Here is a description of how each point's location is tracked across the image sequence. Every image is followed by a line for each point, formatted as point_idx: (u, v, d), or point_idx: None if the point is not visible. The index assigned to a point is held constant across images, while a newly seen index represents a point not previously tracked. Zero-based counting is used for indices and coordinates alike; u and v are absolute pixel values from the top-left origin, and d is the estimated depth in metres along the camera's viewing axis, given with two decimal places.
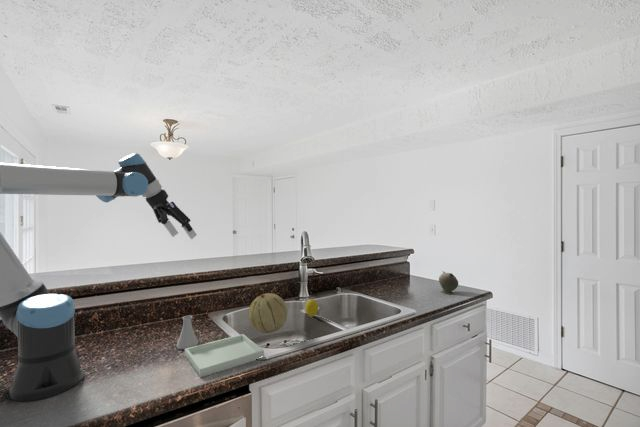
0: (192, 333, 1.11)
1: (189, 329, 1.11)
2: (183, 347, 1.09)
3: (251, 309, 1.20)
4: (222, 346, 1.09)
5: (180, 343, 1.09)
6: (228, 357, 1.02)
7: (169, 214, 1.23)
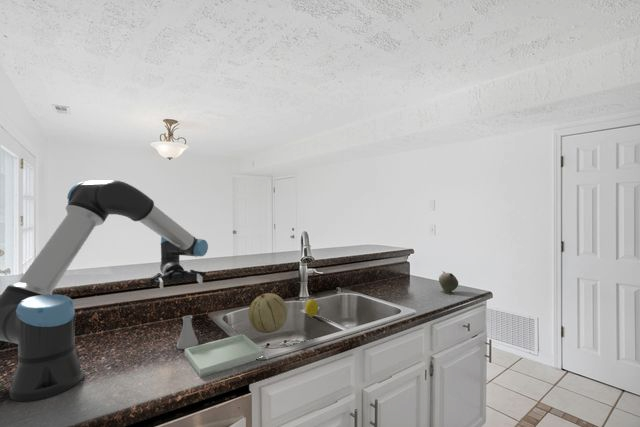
0: (192, 333, 1.11)
1: (189, 329, 1.11)
2: (183, 347, 1.09)
3: (251, 309, 1.20)
4: (222, 346, 1.09)
5: (180, 343, 1.09)
6: (228, 357, 1.02)
7: (187, 271, 1.32)
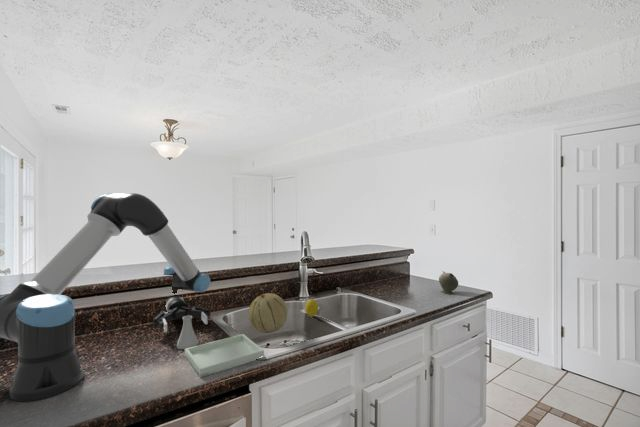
0: (192, 333, 1.11)
1: (189, 329, 1.11)
2: (183, 347, 1.09)
3: (251, 309, 1.20)
4: (222, 346, 1.09)
5: (180, 343, 1.09)
6: (228, 357, 1.02)
7: (191, 308, 1.28)
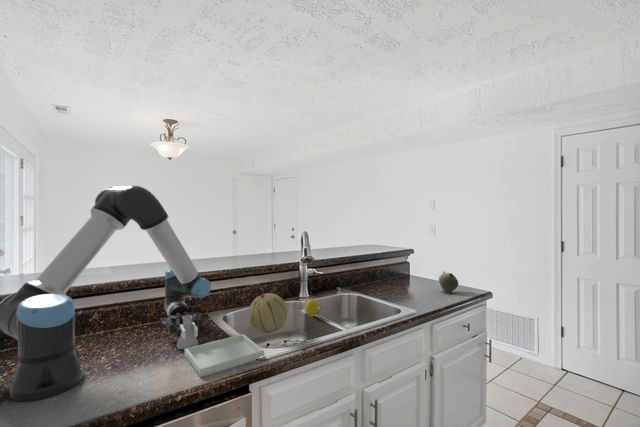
0: (192, 333, 1.11)
1: (189, 329, 1.11)
2: (183, 347, 1.09)
3: (251, 309, 1.20)
4: (222, 346, 1.09)
5: (180, 343, 1.09)
6: (228, 357, 1.02)
7: (189, 315, 1.19)
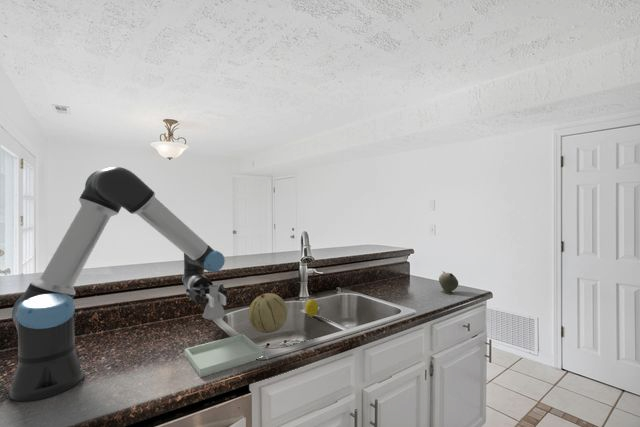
0: (219, 303, 1.07)
1: (216, 298, 1.06)
2: (210, 317, 1.04)
3: (251, 309, 1.20)
4: (222, 346, 1.09)
5: (207, 312, 1.04)
6: (228, 357, 1.02)
7: None
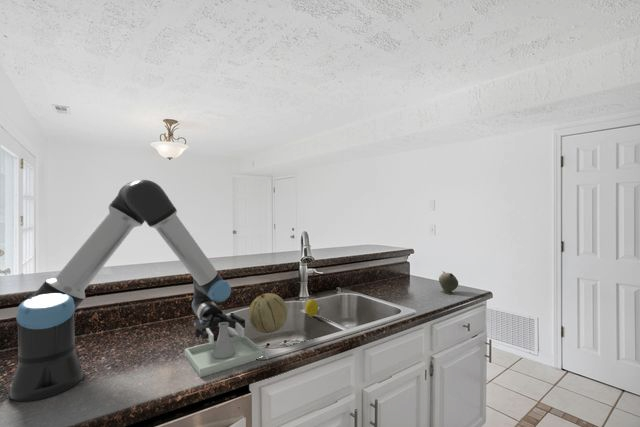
0: (229, 341, 1.03)
1: (226, 337, 1.02)
2: (220, 356, 1.00)
3: (251, 309, 1.20)
4: None
5: (217, 352, 1.01)
6: None
7: (226, 316, 1.12)
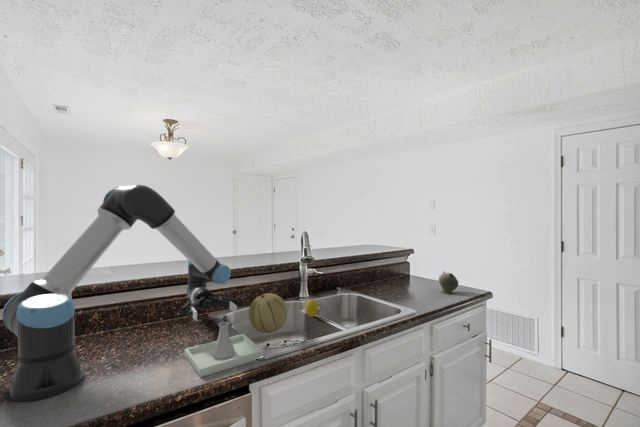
0: (229, 341, 1.03)
1: (226, 337, 1.02)
2: (220, 356, 1.00)
3: (251, 309, 1.20)
4: None
5: (217, 352, 1.01)
6: None
7: (218, 298, 1.24)
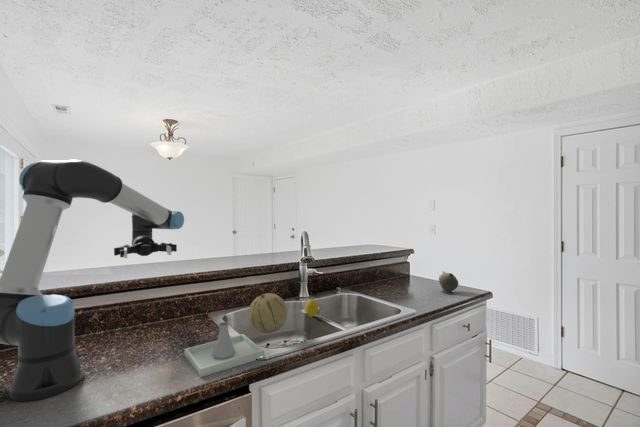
0: (229, 341, 1.03)
1: (226, 337, 1.02)
2: (220, 356, 1.00)
3: (251, 309, 1.20)
4: None
5: (217, 352, 1.01)
6: None
7: (157, 243, 1.25)
